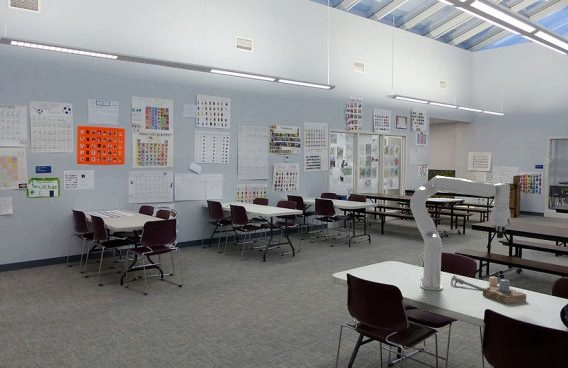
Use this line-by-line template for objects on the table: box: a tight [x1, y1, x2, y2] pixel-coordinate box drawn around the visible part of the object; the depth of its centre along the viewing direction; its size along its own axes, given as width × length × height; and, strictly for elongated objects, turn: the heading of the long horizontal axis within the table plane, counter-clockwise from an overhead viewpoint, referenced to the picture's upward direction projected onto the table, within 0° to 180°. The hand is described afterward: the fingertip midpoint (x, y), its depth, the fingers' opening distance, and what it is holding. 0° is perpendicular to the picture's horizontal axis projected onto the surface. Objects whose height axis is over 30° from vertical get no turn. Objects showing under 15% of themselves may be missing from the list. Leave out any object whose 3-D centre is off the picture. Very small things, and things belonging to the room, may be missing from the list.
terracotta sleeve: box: [488, 276, 499, 287], centre depth 251 cm, size 4×4×8 cm
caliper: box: [450, 274, 484, 292], centre depth 257 cm, size 20×1×6 cm, turn 50°
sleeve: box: [498, 278, 511, 293], centre depth 238 cm, size 5×5×10 cm
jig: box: [482, 285, 527, 305], centre depth 238 cm, size 16×14×5 cm
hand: (500, 238), depth 244 cm, fingers closed
